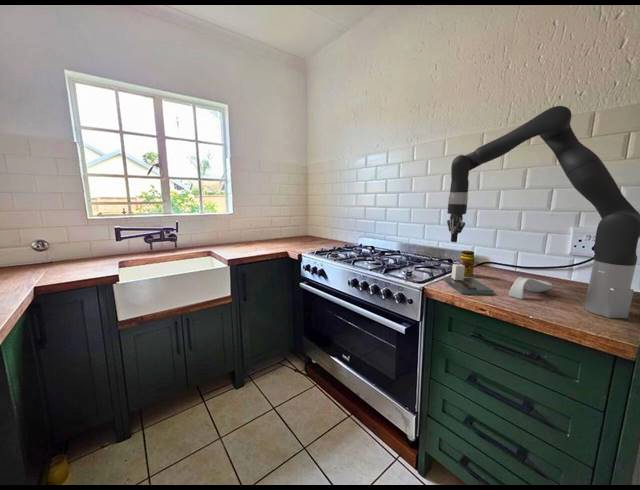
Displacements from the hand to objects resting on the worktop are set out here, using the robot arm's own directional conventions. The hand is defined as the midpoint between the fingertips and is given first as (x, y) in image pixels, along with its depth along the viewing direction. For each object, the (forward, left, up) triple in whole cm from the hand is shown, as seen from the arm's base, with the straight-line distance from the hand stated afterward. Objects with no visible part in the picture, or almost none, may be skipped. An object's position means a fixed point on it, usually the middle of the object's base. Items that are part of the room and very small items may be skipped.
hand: (453, 241), depth 122 cm
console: (-12, -2, -18) cm, 21 cm away
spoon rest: (-15, -24, -18) cm, 34 cm away
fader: (-7, 0, -15) cm, 17 cm away
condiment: (+8, -11, -18) cm, 22 cm away
